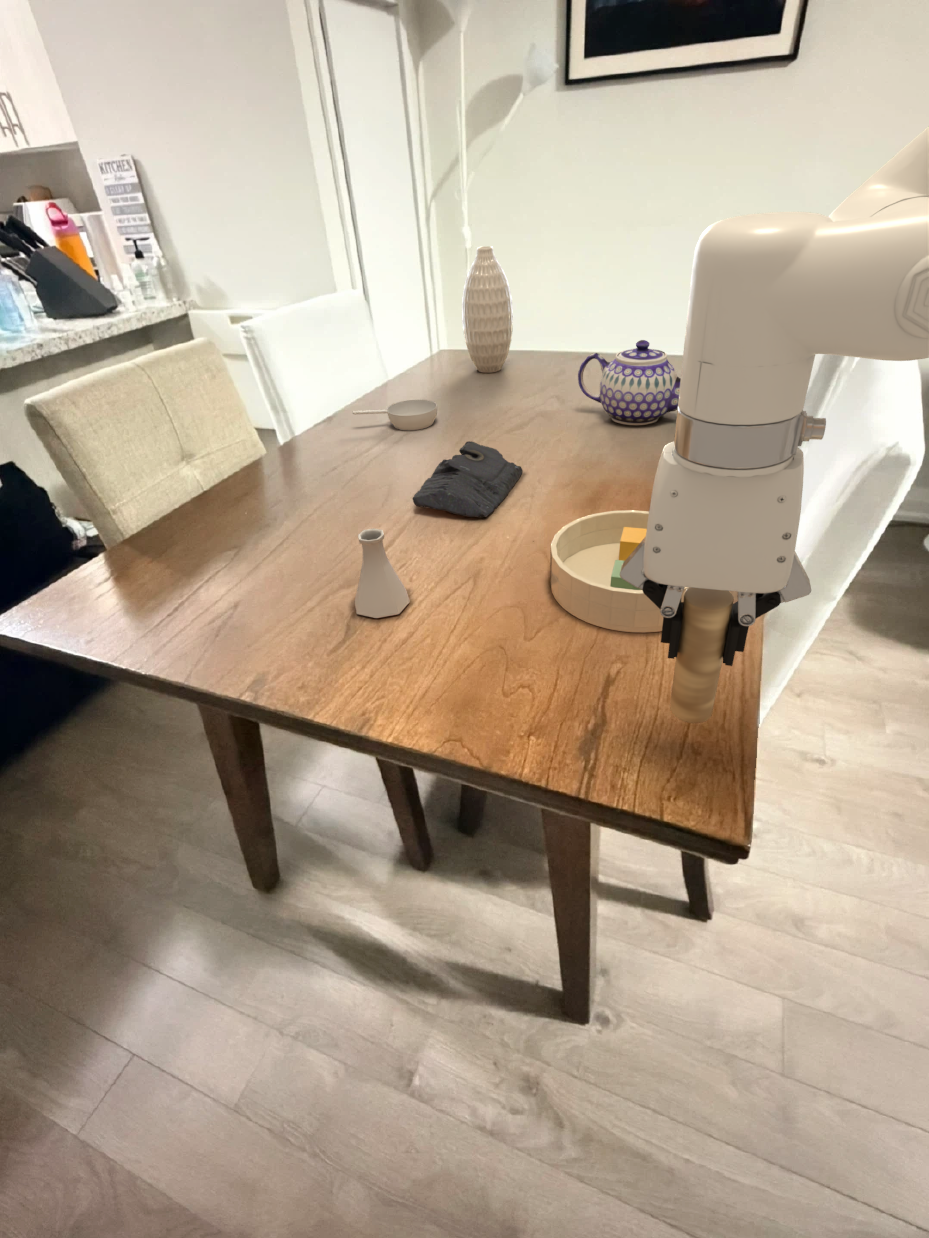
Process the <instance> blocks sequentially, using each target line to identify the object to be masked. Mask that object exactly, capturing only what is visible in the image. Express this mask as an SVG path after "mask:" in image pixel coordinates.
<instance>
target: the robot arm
mask: <svg viewBox="0 0 929 1238" xmlns="http://www.w3.org/2000/svg"><path fill="white" fill-rule="evenodd" d="M689 285H690V287H689V294H688V295H689V296H688V305H687V315H686V323H685V325H686V326H685V333H684V344H683V352H682V362H681V372H680V373H681V374H680V378H681V380H680V393H679V400H678V410H676V421H675V429H674V439H673V441H671V442H668V443H667V444H665V445H664V446H663V448H662V451H661V454H660V457H659V460H658V463H657V466H656V467H657V468H656V471H655V476H654V479H653V485H652V490H651V495H650V504H649V509H648V511H649V516H648V524H647V532H646V536H645V538H644V539H643V540H642V541H641V542H640V544H639V545H638V546H637V547H636V548H635V550H634V551H633V552H632V553H631V554H630V556H629V557H628V558H627V559H626V560H625V561H624V563H623V564H622V566H621V570H620V577H621V578H622V579H623V580H625V581H626V582H628V583H630V584H631V585H633V586H635V587H636V588H640V589H641V590H643V593H644V594H645V595H646V596H647V597H648V598H649V599H650V600H651V601H652V602H653V603H654V604H655V605H656V606H657V607H658V608H659V609H660V613H661V615H662V616H663V626H662V631H661V635H660V643H662V644H668V652H667V659H673V660H674V659H675V658H676V657H677V653H678V646H679V639H680V631H681V624H682V609H683V602H681V597H682V594H683V591H684V588H685V587H691V588H702V589H712V590H724V591H729V592H735V593H736V592H737V601H735V602H733V606H732V611H731V617H730V621H729V626H728V631H727V637H726V642H725V647H724V653H723V659H722V664H724V665H725V666H729V667H733V665H734V659H735V656H736V652H737V653H744V651H745V647H746V642H747V637H748V633H749V628H750V626H754V624H755V623H756V619H758V618H760V617H761V616H763V615H765V614H767V613H769V612H771V611H772V610H774V609H776V608H778V607H779V606H780V605H781V604H782V603H785V604H786V603H789V602H792V601H795V600H797V599H800V598H801V599H802V598H804V597H807V596H809V595H810V594H811V593H812V585H811V580H810V578H809V576H808V574H807V572H806V570H805V568H804V566H803V564H802V562H801V560H800V558H799V556H798V554H797V552H796V545H797V541H798V540H797V538H798V535H799V534H798V533H799V528H800V521H801V520H800V519H801V514H802V501H803V491H804V490H803V488H804V473H805V463H804V462H805V461H804V460H805V459H804V451H803V450H802V449H801V448H799V447H801V446H802V445H803V443H804V442H810V440H811V441H813V440H815V441H816V440H818V441H822V440H823V439H824V435H825V432H826V428H827V418H826V417H814V415H808V413H807V411H806V410H804V407H805V402H806V398H807V394H808V389H809V385H810V380H811V376H812V372H813V368H814V363H815V358H816V355H827V356H828V355H829V356H838V357H839V356H840V357H851V358H859V359H865V360H866V359H867V360H875V361H889V362H890V361H891V362H909V361H917V360H918V361H919V360H925V359H929V125H928V126H927V127H925V128H924V129H923V130H922V131H921V132H920V133H918V135H916V136H915V137H914V138H913V139H911V141H909V142H908V143H907V144H906V145H905V146H903V147H902V148H901V149H900V150H899V151H897V153H895V155H893V156H892V157H891V158H890V159H889V160H887V161H886V162H885V163H884V164H883V165H882V166H881V167H879V168H878V169H877V170H876V171H875V172H874V173H872V174H871V175H870V176H869V177H868V178H867V179H866V180H865V181H863V183H861V184H860V185H859V186H858V187H857V188H856V189H854V191H852V192H851V193H850V194H849V195H848V196H847V197H846V198H844V200H842V201H841V202H840V203H839V204H838V205H837V206H836V208H835V209H834V210H833V211H832V212H830V214H829V215H828V216H827V215H825V214H822V213H819V212H811V211H810V212H809V211H772V212H771V211H770V212H769V211H768V212H759V213H758V212H757V213H748V214H742V215H741V214H740V215H736V216H731V217H727V218H722V219H720V220H718V221H716V222H713V223H712V224H710V225H709V226H707V228H705V229H704V230H703V232H702V233H701V235H700V236H699V238H698V241H697V243H696V245H695V248H694V254H693V260H692V267H691V277H690V284H689Z"/></svg>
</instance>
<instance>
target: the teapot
mask: <svg viewBox="0 0 929 1238" xmlns="http://www.w3.org/2000/svg"><path fill="white" fill-rule="evenodd" d="M649 347H650V342H649V341H648V340H645V339H640V340H638V341H637V342H636V343H635V348H630V349H625V350H621V351H619V352H617V353H616V354H615V358H614V359H613V360H611V361H607V360H606V358H604V356H602V355H601V354H600V353H598V352H593V353H591V354H589V355H588V356H586V358H584V360H583V361H582V363H581V364H580V366H579V369H578V372H577V383H578V386H579V388H580V391H581V392H582V393H583V395H585V396H586V397H587V398H588V399H591V400H593V401H595V402H597V403H600V404H601V406H602V408H603V410H604V411H605V412H606V413H607V414H608V415H609V416H610V418H611V421H613V422H615V423H616V424H617V423H618V424H621V425H627V426H645V425H650V424H653V423H656V422H657V421H658V420H659V419H660V418H661V417H663V416H664V415H666V414H667V413H669V412H677V410H678V400H679V393H680V380H681V377H680V376H678V373H677V369H676V368H675V367H674V365H673V364H672V363H671V362H670V361H669V360H668V358H667V357H668V354H667V353H666V352H665V351H663V350H659V349H655V348H649ZM592 360H597V361H598V363H599V366H600V370H601V377H600V380H599V381H600V382H599V394H595V393H593V392H592V391H590V390H589V388H587V387H586V385H585V383H584V372H585V369H586V367H587V366H588V364H589V362H591V361H592Z"/></svg>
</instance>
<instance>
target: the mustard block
mask: <svg viewBox="0 0 929 1238" xmlns="http://www.w3.org/2000/svg"><path fill="white" fill-rule="evenodd" d="M646 532H647V529H643V528H632V527H624V529H623V533H622V536H621V540H620V550H619V560H622V561H625V560H626V559H627V558H628V557H629V556H630V554H631V553H632V552H633V551H634V550H635V548H636V547H637V546H638V545H639V544H640V542H641V541H642V540H643V539H644V538H645V536H646Z"/></svg>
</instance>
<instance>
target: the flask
mask: <svg viewBox="0 0 929 1238" xmlns="http://www.w3.org/2000/svg"><path fill="white" fill-rule="evenodd" d="M357 538H358V543H359V544H360V545H361V547H362V564H361V569H360V574H359V579H358V584H357V588H356V594H355V599H354V606H355V612H356V615H359V616H364V617H369V618H374V619H379V618H385V617H391V616H396V615H400V614H401V613H402V611H404V609H405V608H406V607H407V606H408V604H410V602H411V600H410V597H409V594H408V591H407V589H406V586H405V585H404V583H403V581H402V580H401V579H400V577H399V575H398V573H397V572H396V571H395V569H394V566H393V565H392V563H391V561H390V560H389V557H388V555H387V553H386V550H385V547H384V542H383V540H384V539H385V533H384V530H383V529H380V528H368V529H363V530H362V531H361V532H359V533H358V534H357Z"/></svg>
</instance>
